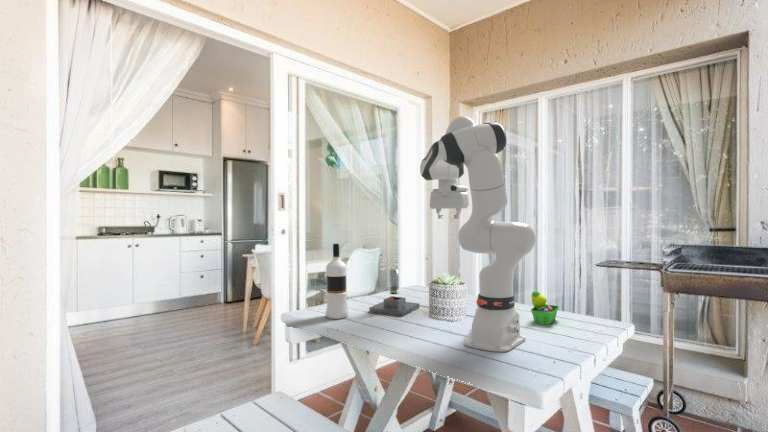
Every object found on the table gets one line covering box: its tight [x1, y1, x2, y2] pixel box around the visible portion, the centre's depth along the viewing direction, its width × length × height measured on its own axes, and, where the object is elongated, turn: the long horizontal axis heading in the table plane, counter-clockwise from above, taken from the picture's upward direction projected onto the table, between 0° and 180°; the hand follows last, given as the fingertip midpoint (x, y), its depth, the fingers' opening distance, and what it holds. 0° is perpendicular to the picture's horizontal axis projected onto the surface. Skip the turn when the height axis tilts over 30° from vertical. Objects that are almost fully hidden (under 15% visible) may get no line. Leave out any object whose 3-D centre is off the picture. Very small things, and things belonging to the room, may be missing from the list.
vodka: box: [325, 243, 350, 320], centre depth 166 cm, size 9×9×30 cm
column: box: [389, 268, 400, 295], centre depth 176 cm, size 4×4×10 cm
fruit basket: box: [530, 290, 560, 326], centre depth 156 cm, size 11×9×11 cm
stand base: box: [368, 295, 420, 317], centre depth 176 cm, size 16×16×6 cm
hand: (448, 218), depth 183 cm, fingers open, 8 cm apart
